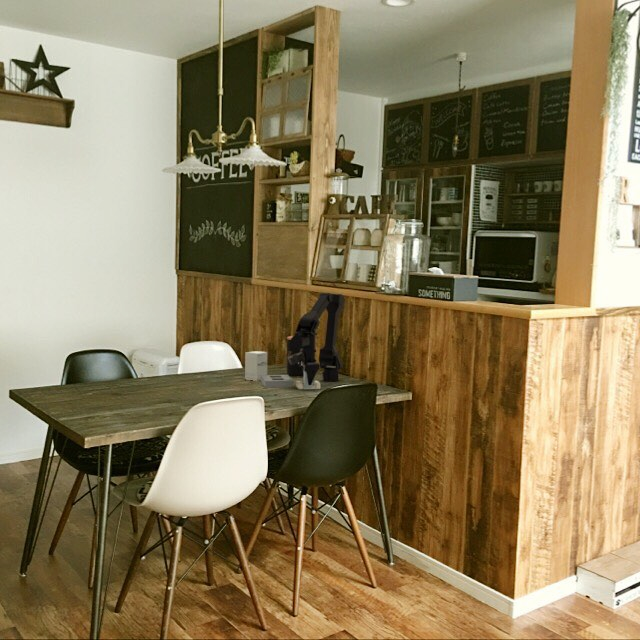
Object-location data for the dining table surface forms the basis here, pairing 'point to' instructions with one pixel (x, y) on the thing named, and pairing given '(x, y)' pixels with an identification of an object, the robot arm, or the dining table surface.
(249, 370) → the supplement box
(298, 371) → the coffee jar
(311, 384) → the plug
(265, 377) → the port panel
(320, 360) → the robot arm
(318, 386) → the holster
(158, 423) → the dining table surface
